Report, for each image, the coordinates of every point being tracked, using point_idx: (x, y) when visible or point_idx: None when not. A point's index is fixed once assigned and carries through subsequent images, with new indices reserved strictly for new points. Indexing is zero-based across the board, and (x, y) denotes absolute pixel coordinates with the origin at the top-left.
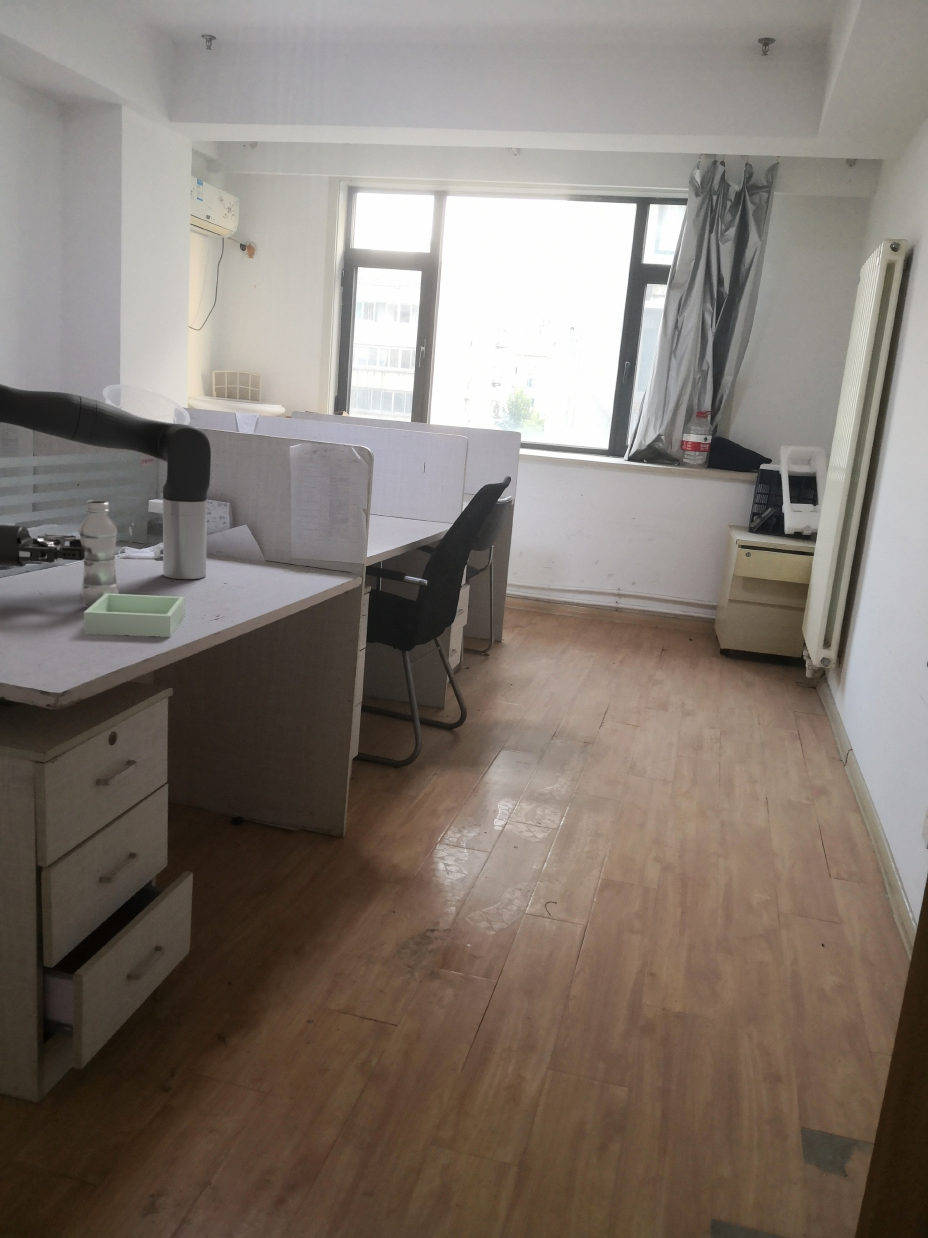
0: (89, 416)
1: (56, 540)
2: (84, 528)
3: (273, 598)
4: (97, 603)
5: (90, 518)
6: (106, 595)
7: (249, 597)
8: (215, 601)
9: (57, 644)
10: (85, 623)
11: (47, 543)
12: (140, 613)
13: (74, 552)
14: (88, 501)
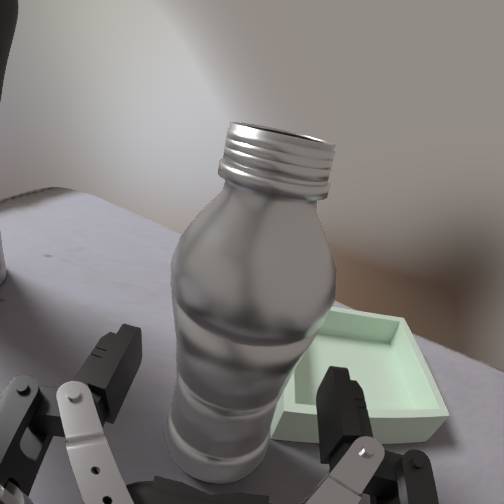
0: None
1: (13, 470)
2: (330, 291)
3: (154, 239)
4: (385, 412)
5: (317, 229)
6: (306, 407)
7: (143, 253)
8: (162, 284)
9: (481, 453)
10: (436, 428)
11: (359, 496)
12: (413, 346)
13: (361, 397)
14: (284, 136)
